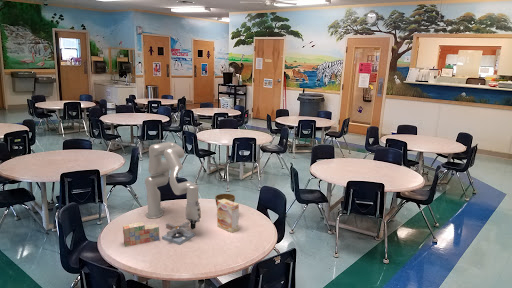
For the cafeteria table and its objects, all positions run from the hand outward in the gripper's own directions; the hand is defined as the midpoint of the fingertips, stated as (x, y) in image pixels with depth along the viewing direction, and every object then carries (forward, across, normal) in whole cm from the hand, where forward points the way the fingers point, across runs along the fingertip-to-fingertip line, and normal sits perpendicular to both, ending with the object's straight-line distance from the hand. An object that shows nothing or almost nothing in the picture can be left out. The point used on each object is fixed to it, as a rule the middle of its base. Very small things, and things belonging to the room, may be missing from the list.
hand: (193, 228), depth 248 cm
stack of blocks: (+5, +23, +24) cm, 34 cm away
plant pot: (+5, -1, -37) cm, 37 cm away
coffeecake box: (+5, -14, -21) cm, 26 cm away
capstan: (+2, +6, +8) cm, 10 cm away
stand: (+5, +6, +8) cm, 11 cm away
